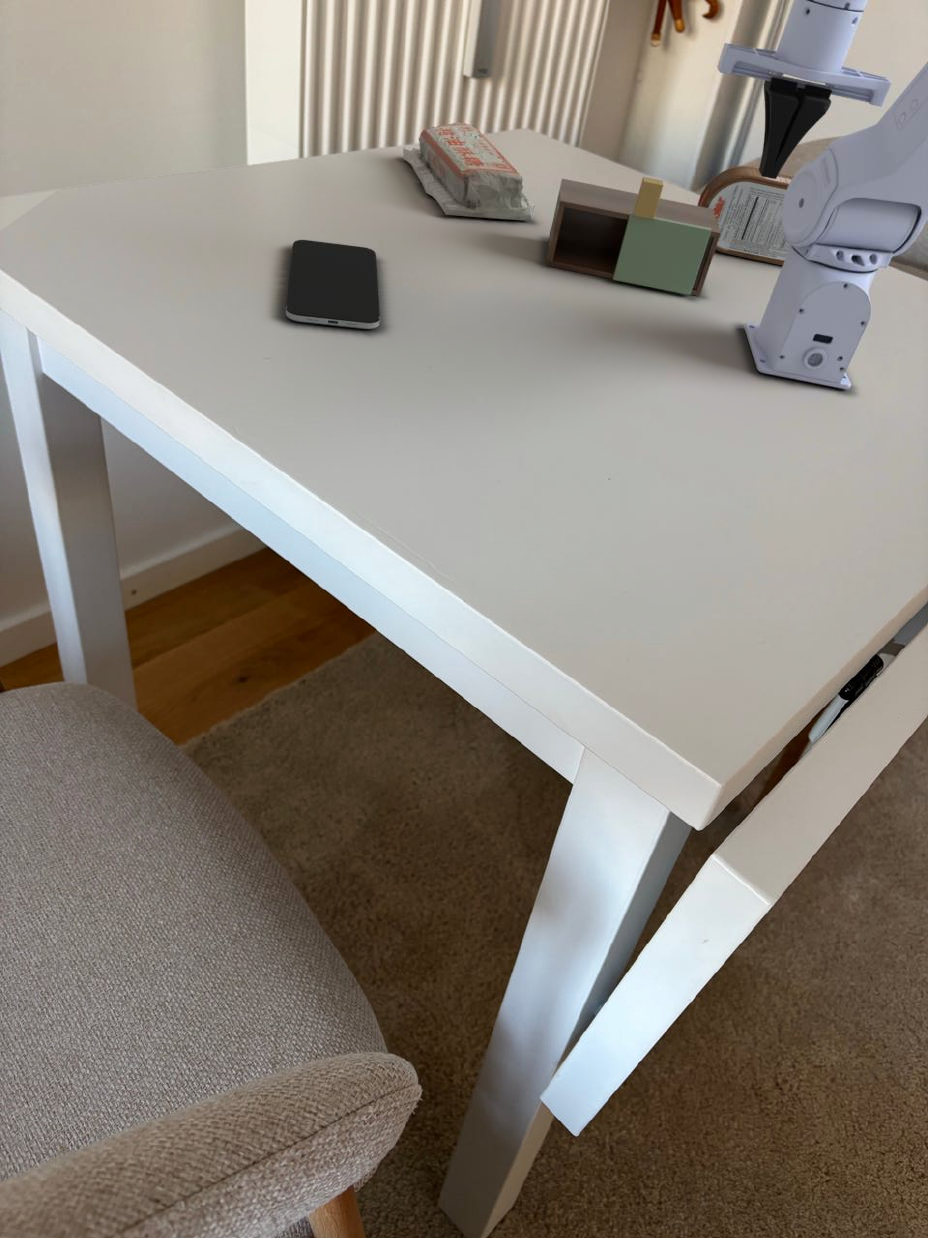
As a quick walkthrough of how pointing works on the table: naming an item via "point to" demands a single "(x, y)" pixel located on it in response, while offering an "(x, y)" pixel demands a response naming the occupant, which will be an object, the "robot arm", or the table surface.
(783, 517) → the table surface
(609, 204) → the cupboard
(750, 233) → the tin
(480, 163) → the packaged product
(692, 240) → the sliding door
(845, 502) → the table surface
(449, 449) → the table surface
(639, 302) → the table surface
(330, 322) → the smartphone
